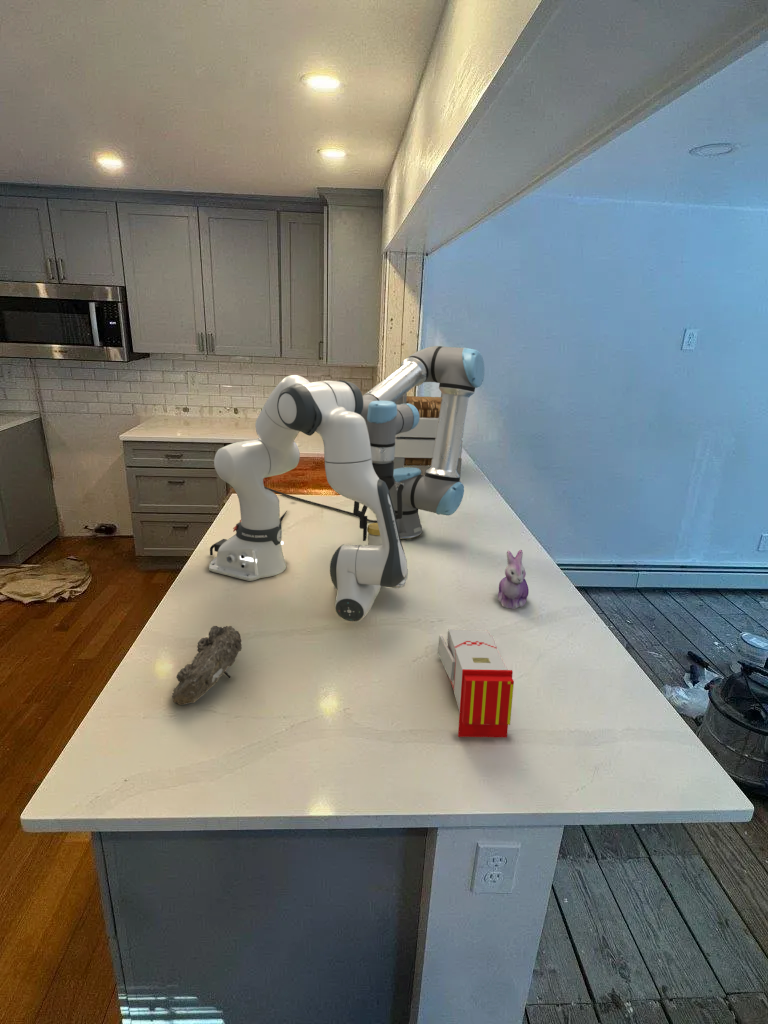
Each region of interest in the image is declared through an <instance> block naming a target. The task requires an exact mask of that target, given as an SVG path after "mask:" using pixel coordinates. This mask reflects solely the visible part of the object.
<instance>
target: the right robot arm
mask: <svg viewBox="0 0 768 1024" xmlns="http://www.w3.org/2000/svg"><path fill="white" fill-rule="evenodd" d="M484 379H485V362H484V358H483V355H482V353H481V352H480V351H479V350H477V349H474V348H468V347H455V346H441V345H433V346H428V347H425V348H422V349H420V350H418V351H416V352H413V353H412V354H410V355H409V356H407V357H406V358H405V359H403V360H402V361H401V363H400V365H399V367H398V368H397V369H395V370H394V371H393V372H391V373H390V374H389V375H388V376H386V377H385V378H384V379H382V380H381V381H380V382H378V383H377V384H376V385H375V386H373V387H372V388H371V389H370V390H368V391H367V392H365V393H364V394H362V396H363V410H362V413H361V416H362V417H363V418H364V420H365V422H366V426H367V429H368V434H369V439H370V446H371V457H372V465H373V468H374V471H375V473H376V475H377V476H378V478H379V479H381V480H382V481H384V482H385V483H386V485H387V487H388V490H389V493H390V496H391V500H392V504H393V508H394V513H395V517H396V522H397V526H398V531H399V535H400V540H401V541H410V540H415V539H418V538H420V537H421V536H422V535H423V525H422V524H421V518H420V515H419V510H420V511H425V512H429V513H433V514H436V515H442V516H452V515H453V514H454V513H456V512H457V510H458V509H459V508H460V506H461V503H462V502H463V498H464V494H465V485H464V483H462V482H461V475H460V476H459V474H458V473H457V471H456V470H457V464H458V458H459V452H460V446H461V440H462V441H463V438H462V435H463V436H464V432H463V429H465V422H466V417H467V410H468V404H469V399H470V397H472V396H473V395H474V394H475V390H476V389H477V388H480V387H481V386H482V385H483V382H484ZM425 383H436V384H439V385H438V389H439V391H440V393H441V392H442V401H441V407H440V413H439V419H438V425H437V431H436V438H435V444H434V450H433V456H432V462H431V465H430V466H429V468H427V469H426V470H425V471H424V474H422V470H421V468H419V467H413V466H411V467H409V466H406V467H404V468H397V469H394V462H393V460H394V455H395V435H396V434H399V433H403V432H407V431H410V430H411V429H413V428H415V427H416V426H417V424H418V422H419V412H418V410H417V408H416V407H415V406H414V405H412V404H404V403H403V404H400V405H397V404H396V403H395V402H396V401H397V400H398V399H400V398H401V397H402V396H403V395H404V394H406V393H407V394H408V393H409V391H411V390H412V389H413V388H414V387H419V386H421V385H422V384H423V385H424V384H425ZM459 480H460V482H459ZM264 488H265V489H268V490H270V491H272V492H274V493H275V494H278V495H281V496H284V497H288V498H290V499H294V500H296V501H301V502H304V503H307V504H311V505H314V506H318V507H321V508H326V509H329V510H334V511H336V512H340V513H344V514H346V515H350V516H354V517H357V518H359V526H358V527H359V529H360V530H362V542H366V541H367V539H368V531H367V528H368V523H377V519H376V520H375V519H373V520H372V519H369V518H368V515H366V513H367V510H368V509H369V508H368V507H367V506H365V505H363V507H362V508H361V510H360V503H359V502H356V501H354V500H353V501H354V502H353V512H351V511H348V510H345V509H341V508H337V507H333V506H330V505H325V504H323V503H322V504H321V503H318V502H315V501H311V500H307V499H304V498H301V497H297V496H293V495H290V494H287V493H284V492H281V491H278V490H275V489H273V488H270V487H267V486H264Z"/></svg>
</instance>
